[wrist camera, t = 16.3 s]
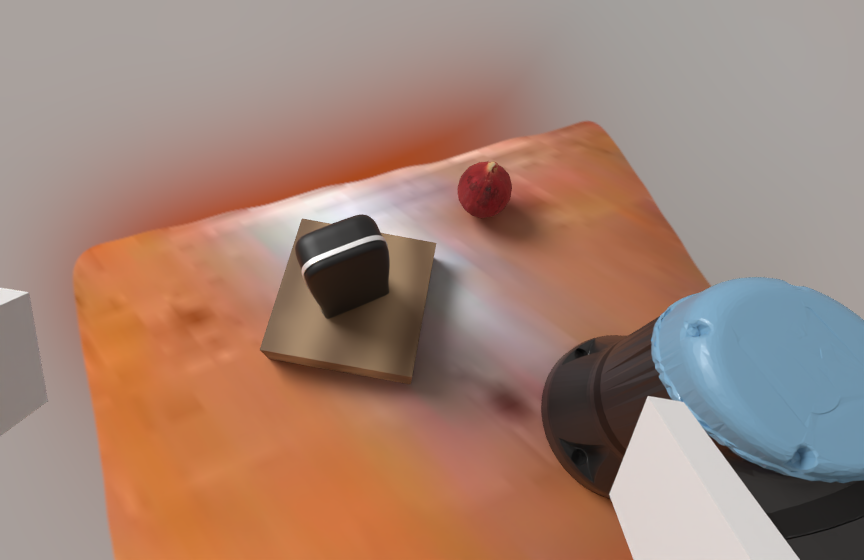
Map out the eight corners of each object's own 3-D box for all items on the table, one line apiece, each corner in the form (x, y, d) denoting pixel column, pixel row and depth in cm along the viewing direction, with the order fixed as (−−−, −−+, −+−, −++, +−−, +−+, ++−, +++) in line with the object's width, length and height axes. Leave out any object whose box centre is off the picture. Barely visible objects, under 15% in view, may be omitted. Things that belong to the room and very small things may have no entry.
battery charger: (377, 260, 47) (371, 200, 36) (392, 294, 45) (391, 241, 35) (310, 287, 45) (283, 232, 34) (324, 322, 44) (301, 276, 33)
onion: (498, 235, 53) (515, 195, 46) (449, 223, 53) (458, 182, 46) (506, 193, 55) (524, 149, 48) (459, 182, 55) (469, 136, 48)
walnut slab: (433, 260, 52) (436, 243, 48) (410, 385, 46) (411, 377, 42) (308, 237, 52) (302, 218, 48) (270, 360, 46) (259, 349, 42)
